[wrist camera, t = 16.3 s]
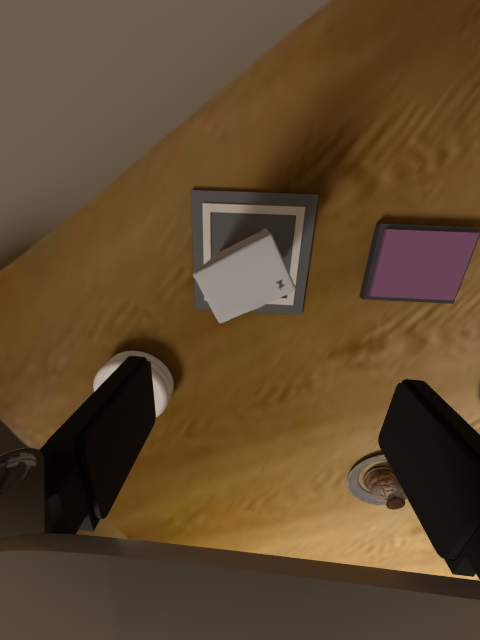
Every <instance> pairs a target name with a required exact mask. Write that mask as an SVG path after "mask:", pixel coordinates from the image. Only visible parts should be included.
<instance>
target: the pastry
mask: <svg viewBox="0 0 480 640" xmlns="http://www.w3.org/2000/svg"><path fill="white" fill-rule="evenodd" d="M383 460H387V459H386V458H385V456H384V454H383V455H378V456H374V457H371V458H368V459H366V460H364V461H362V462H361V463H359V464H358V465H356V466H355V467H354V468H353V469H352V471H351V472H350V474H349V475H348V478H347V487H348V490H349V492H350V493H351V494H352V495H353V496H354V497H356V498H357V499H359V500H361V501H364V502H366V503H369V504H376V505H384V504H386V506H387V508H389V509H399V508H401V507H403V506H404V505H405V501H404V500H406V499H408V498H407V497H406V495H405V493H404V491H403V489H402V487H401V485H400V484H399V482H398V480H397V478H396V476H395V474H394V472H393V471H392V469H391V468H385V467H379V468H375V469H371V470H370V471H369V472H368V473H367V474H366V476H365V477H364V478H363V483H364V485H365V487H366V488H367V489H368V490H369V491H371V492H369V491H367V490H365V489H363V488H362V487H361V485H360V484H359V474H360V472H361V471H362V470H363V469H364V468H365V467H366V466H368V465H370V464H372V463H374V462H378V461H383Z"/></svg>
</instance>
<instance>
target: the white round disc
mask: <svg viewBox="0 0 480 640" xmlns="http://www.w3.org/2000/svg"><path fill="white" fill-rule="evenodd" d="M129 356H140V357H145V358H146V359H147V361H150V362H151V369H152V380H153V390H154V401H155V411H156V417H158V416H159V415H160V414H161V413H162V412H163V411H164V410H165V408H166V406H167V403H168V402H169V400H170V397H171V395H172V393H173V388H174V382H173V377H172V375H171V372H170V371H169V369H168V368H167V367H166V365H165V364H164V363H163V362H162V361H160V360H159V359H158V358H156V357H154V356H153V355H150V354H148V353H145V352H141V351H124V352H121V353H119V354H117V355H115V356H113V357H112V358H111V359H110V360H109V361H108V362H107V363H106V364H105V365H104V366H103V367H102V368H100V370H99V371H98V372H97V374H96V376H95V379H94V384H93V388H94V392H95V391H96V390H97V389H98V388H99V386H100V385H101V384H102V383H103V382H104V381H105V380H106V379H107V378H108V377H109V376H110V375H111V374H112V373H113V372H114V371H115V370H116V369H117V368H118V367H119V366H120V365H121V364H122V363H123V362H124V361H125V359H126V358H127V357H129Z"/></svg>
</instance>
